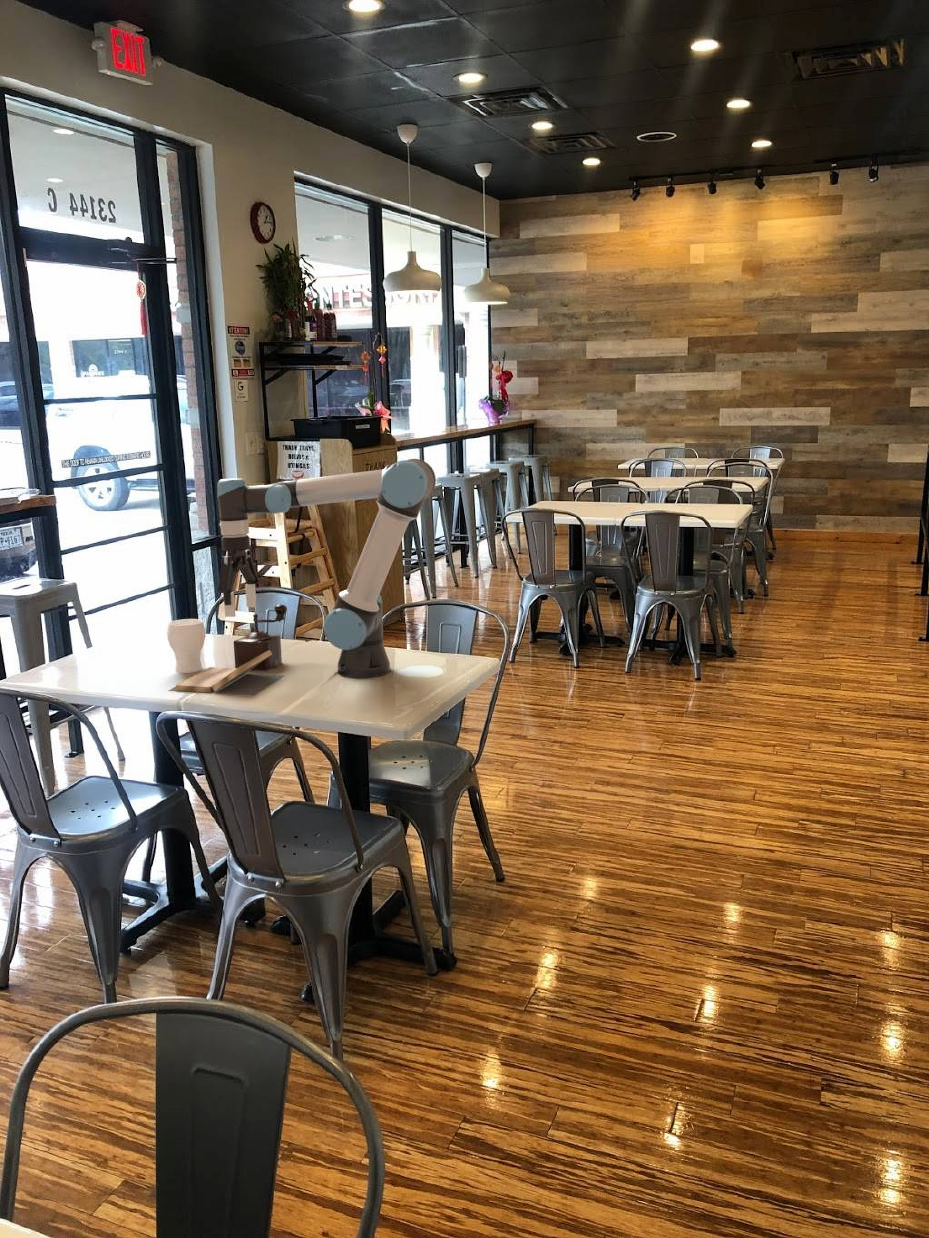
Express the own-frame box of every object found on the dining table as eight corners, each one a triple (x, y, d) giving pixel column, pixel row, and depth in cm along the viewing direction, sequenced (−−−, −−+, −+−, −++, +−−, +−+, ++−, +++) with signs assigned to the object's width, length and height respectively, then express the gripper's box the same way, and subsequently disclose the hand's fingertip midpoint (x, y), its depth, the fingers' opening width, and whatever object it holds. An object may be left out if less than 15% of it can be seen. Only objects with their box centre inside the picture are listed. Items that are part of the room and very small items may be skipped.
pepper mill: (268, 674, 301) (265, 613, 298) (234, 672, 304) (230, 611, 301) (292, 662, 316) (289, 603, 312) (259, 659, 319) (256, 601, 315)
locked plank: (242, 673, 299) (242, 668, 298) (210, 692, 280) (210, 686, 279) (210, 672, 301) (209, 667, 301) (176, 690, 282) (175, 685, 282)
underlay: (285, 678, 297) (285, 675, 296) (254, 698, 276) (254, 695, 276) (204, 674, 302) (203, 671, 302) (168, 694, 282) (167, 690, 282)
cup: (198, 678, 299) (194, 626, 296) (163, 676, 301) (159, 625, 298) (214, 668, 309) (210, 618, 306) (180, 667, 311) (177, 618, 308)
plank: (272, 654, 295) (269, 649, 295) (242, 671, 276) (238, 667, 276) (246, 672, 298) (243, 668, 298) (214, 691, 279) (211, 686, 279)
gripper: (242, 530, 300) (248, 603, 304) (201, 541, 276) (208, 620, 280) (266, 529, 298) (272, 603, 302) (227, 541, 274) (233, 620, 278)
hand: (241, 611), depth 291 cm, fingers open, 13 cm apart
